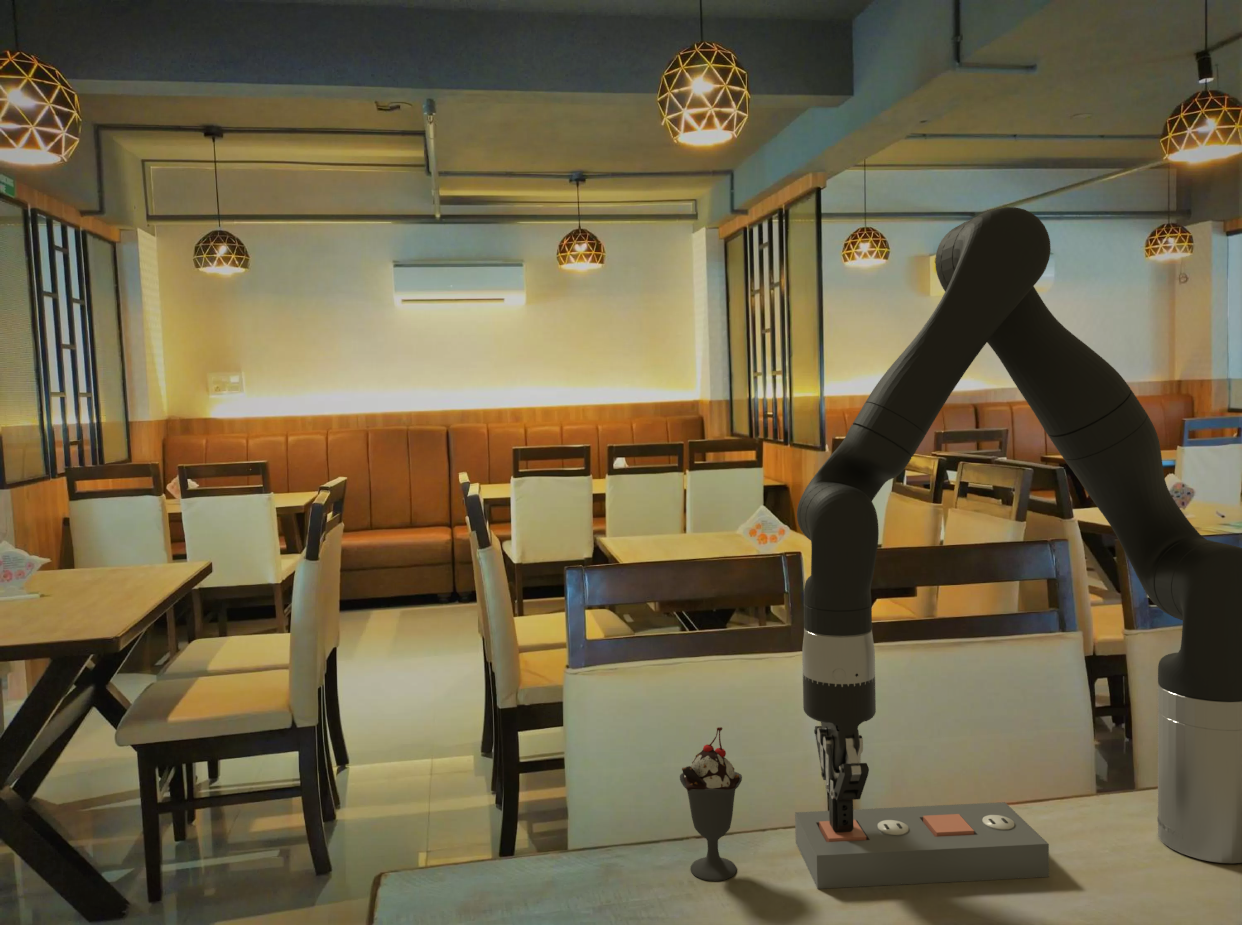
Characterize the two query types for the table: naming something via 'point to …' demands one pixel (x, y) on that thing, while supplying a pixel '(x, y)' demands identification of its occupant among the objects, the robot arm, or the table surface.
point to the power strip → (923, 847)
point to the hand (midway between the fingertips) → (841, 829)
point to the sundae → (711, 807)
